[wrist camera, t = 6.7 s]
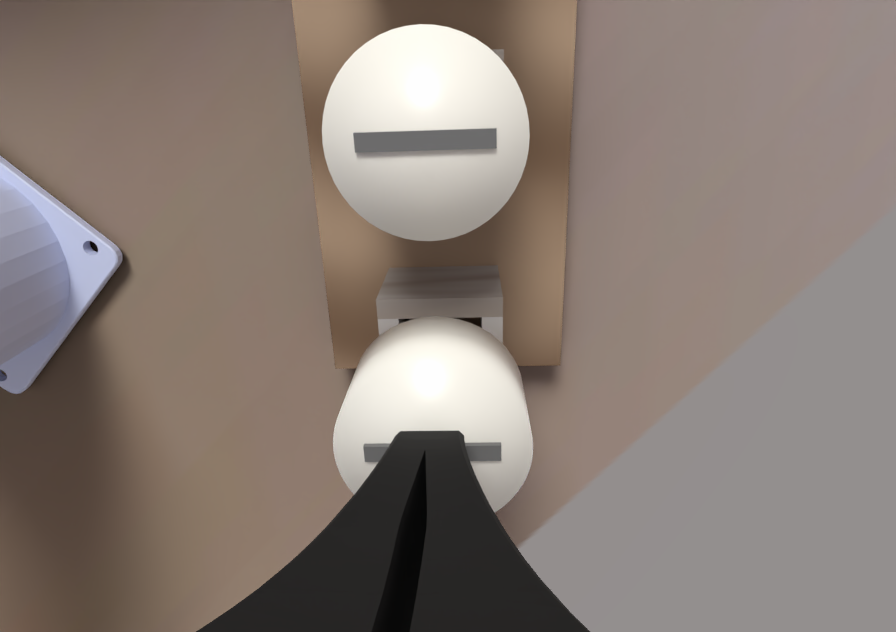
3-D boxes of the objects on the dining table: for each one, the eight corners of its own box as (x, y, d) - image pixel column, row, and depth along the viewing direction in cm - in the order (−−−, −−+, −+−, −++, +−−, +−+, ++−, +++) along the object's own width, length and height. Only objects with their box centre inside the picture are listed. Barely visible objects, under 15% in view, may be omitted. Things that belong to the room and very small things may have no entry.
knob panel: (282, -197, 16) (216, -296, 12) (577, -214, 15) (617, -320, 11) (343, 350, 22) (315, 413, 18) (554, 347, 22) (574, 410, 18)
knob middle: (370, 197, 18) (332, 244, 13) (357, 43, 16) (308, 27, 11) (511, 194, 18) (528, 240, 13) (512, 37, 16) (533, 19, 11)
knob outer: (376, 408, 19) (342, 533, 14) (364, 278, 17) (320, 365, 12) (513, 406, 18) (531, 532, 13) (515, 275, 17) (536, 362, 12)
